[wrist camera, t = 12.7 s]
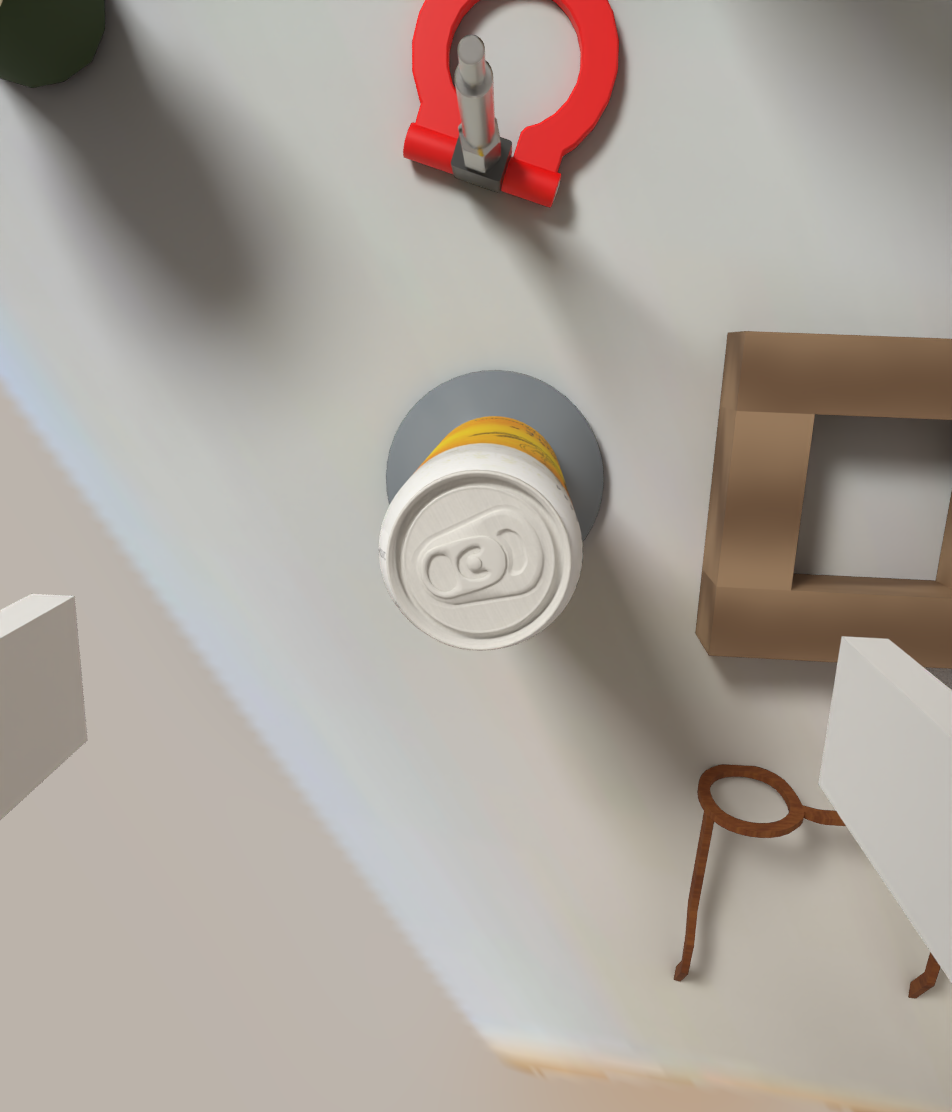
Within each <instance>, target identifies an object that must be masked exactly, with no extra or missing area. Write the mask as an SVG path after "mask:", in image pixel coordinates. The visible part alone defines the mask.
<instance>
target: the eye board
mask: <svg viewBox="0 0 952 1112" xmlns="http://www.w3.org/2000/svg"><path fill="white" fill-rule="evenodd" d="M815 414H821V415H845V416H870V417H894V418H918V419H942V420H952V339H941V338H915V337H888V336H861V335H834V334H807V333H780V332H753V331H742V332H730V333H728V335H727V344H726V354H725V363H724V372H723V381H722V391H721V400H720V409H719V419H718V428H717V437H716V446H715V456H714V465H713V474H712V484H711V493H710V502H709V511H708V521H707V530H706V539H705V549H704V558H703V567H702V577H701V586H700V595H699V604H698V614H697V623H696V632H695V633H696V635H697V637H698V638H699V640H700V642H701V643H702V645H703V646H704V648H705V650H706V651H707V653H708V655H709V656H728V657H746V658H765V659H783V660H802V661H820V662H838V656H839V650H840V644H841V637H842V636H845V637H864V638H883V639H889V640H890V641H892V642H893V643H894V644H895V645H897V646H898V647H899V648H900V649H902V650H903V651H904V652H905V653H906V654H908V655H909V656H910V657H911V658H913V659H914V660H915V661H916V662H918V663H919V664H920V665H921V666H923V667H932V668H950V669H952V493H951V498H950V504H949V509H948V515H947V521H946V526H945V532H944V537H943V543H942V548H941V554H940V560H939V565H938V571H937V576H936V581H932V580H911V579H891V578H871V577H851V576H830V575H810V574H793V572H794V564H795V557H796V550H797V542H798V535H799V528H800V520H801V513H802V505H803V498H804V491H805V483H806V476H807V468H808V461H809V454H810V446H811V439H812V432H813V424H814V417H815Z"/></svg>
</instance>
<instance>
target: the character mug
mask: <svg viewBox="0 0 952 1112" xmlns="http://www.w3.org/2000/svg"><path fill="white" fill-rule="evenodd" d="M104 30H105V2H104V0H0V78H2V79H5V80H8V81H11V82H15V83H18V84H21V85H25V86H28V87H31V88H34V87H39V86H44V85H49V84H54V83H59V82H64V81H65V80H67V79H68V78H69V77H71V76H72V75H74V74H75V73H76V72H78V71H79V70H81V69H82V68H83V67H85V66H86V65H88V64H89V63H90V62H92V60H93V57H94V55H95V52H96V50H97V47H98V45H99V42H100V40H101V37H102V35H103V32H104Z"/></svg>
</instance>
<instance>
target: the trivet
mask: <svg viewBox="0 0 952 1112" xmlns="http://www.w3.org/2000/svg"><path fill="white" fill-rule="evenodd" d="M488 416H501V417H508V418H512V419H515V420H518V421H520V422H523V423H525V424H527V425H528V426H530V427H532V428H533V429H535V430H536V431H537V432H538V433H539V434H541V435H542V436H543V437H544V438H545V440H546V441H547V442H548V443H549V445H550V446H551V448H552V449H553V451H554V453H555V455H556V457H557V460H558V462H559V465H560V468H561V471H562V474H563V477H564V480H565V483H566V486H567V489H568V492H569V495H570V498H571V501H572V504H573V507H574V510H575V513H576V516H577V519H578V522H579V526H580V530H581V535H582V542H583V541H584V540H585V538H586V536H587V535H588V533H589V531H590V530H591V528H592V526H593V524H594V521H595V519H596V517H597V514H598V511H599V507H600V504H601V499H602V492H603V465H602V458H601V454H600V450H599V447H598V443H597V441H596V439H595V436H594V434H593V431H592V430H591V428H590V426H589V424H588V423H587V421H586V419H585V418H584V416H583V415H582V414H581V413H580V411H579V410H578V409H577V407H576V406H575V405H574V404H573V403H572V402H571V401H570V400H569V399H568V398H567V397H566V396H564V395H563V394H562V393H560V392H559V391H558V390H556V389H555V388H554V387H552V386H550V385H548V384H546V383H545V382H543V381H541V380H539V379H536V378H533V377H531V376H528V375H525V374H521V373H517V372H511V371H502V370H488V371H479V372H473V373H469V374H465V375H462V376H459V377H456V378H454V379H451V380H449V381H447V382H445V383H443V384H441V385H439V386H438V387H436V388H435V389H433V390H432V391H430V392H429V393H428V394H426V395H425V396H424V397H423V398H422V399H420V400H419V401H418V402H417V403H416V405H415V406H414V407H413V408H412V409H411V410H410V411H409V413H408V414H407V415H406V417H405V418H404V420H403V421H402V423H401V424H400V426H399V428H398V430H397V432H396V434H395V436H394V439H393V442H392V445H391V448H390V451H389V456H388V461H387V470H386V486H387V495H388V500H389V505H390V504H391V502H392V500H393V499H394V497H395V495H396V494H397V493H398V491H399V490H400V489H401V487H402V486H403V485H404V484H405V483H406V482H407V480H408V479H409V478H410V477H411V476H412V475H413V473H414V472H415V471H416V470H417V469H418V468H419V466H420V465H421V464H422V463H423V462H424V461H425V460H426V458H427V457H428V456H429V455H430V454H431V453H432V451H433V450H434V449H435V448H436V447H437V446H438V445H439V443H440V442H441V441H442V440H443V439H444V438H445V437H446V436H447V435H448V434H449V433H450V432H451V431H452V430H454V429H455V428H457V427H458V426H460V425H461V424H463V423H466V422H468V421H470V420H473V419H476V418H481V417H488Z"/></svg>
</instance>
